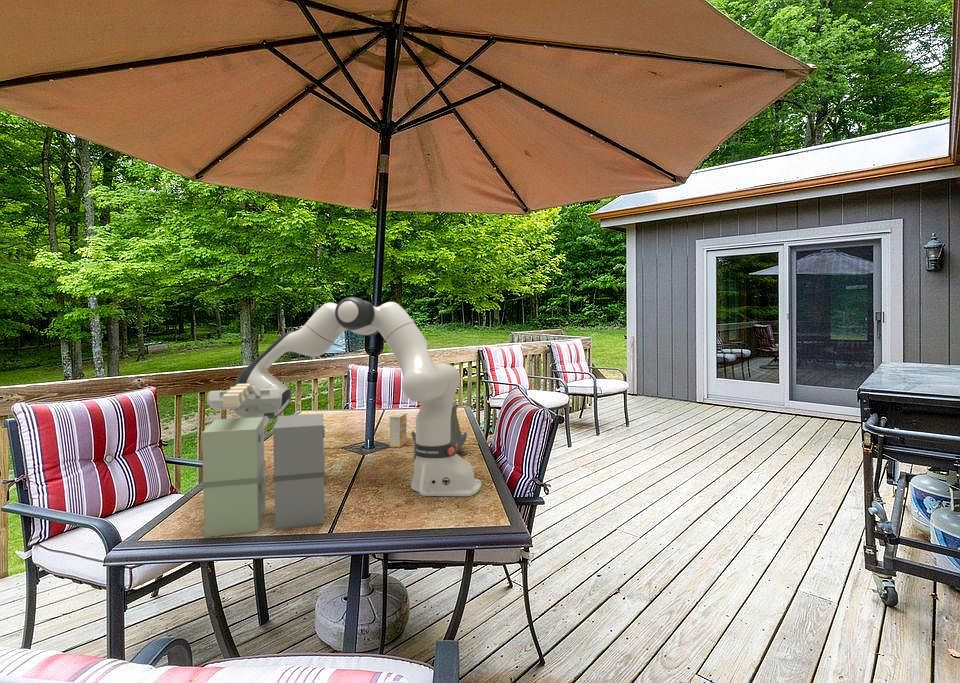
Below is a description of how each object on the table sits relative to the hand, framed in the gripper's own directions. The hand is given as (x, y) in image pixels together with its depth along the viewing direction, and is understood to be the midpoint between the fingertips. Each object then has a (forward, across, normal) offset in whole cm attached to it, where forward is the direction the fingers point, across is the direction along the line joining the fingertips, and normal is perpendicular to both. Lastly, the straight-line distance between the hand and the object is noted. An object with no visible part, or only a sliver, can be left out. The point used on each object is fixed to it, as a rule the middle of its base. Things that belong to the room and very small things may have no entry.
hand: (242, 388), depth 141 cm
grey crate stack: (-5, +16, +36) cm, 39 cm away
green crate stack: (-5, 0, +36) cm, 36 cm away
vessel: (-48, +66, +11) cm, 82 cm away
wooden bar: (+6, 0, +6) cm, 8 cm away
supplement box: (-62, +52, +3) cm, 81 cm away
